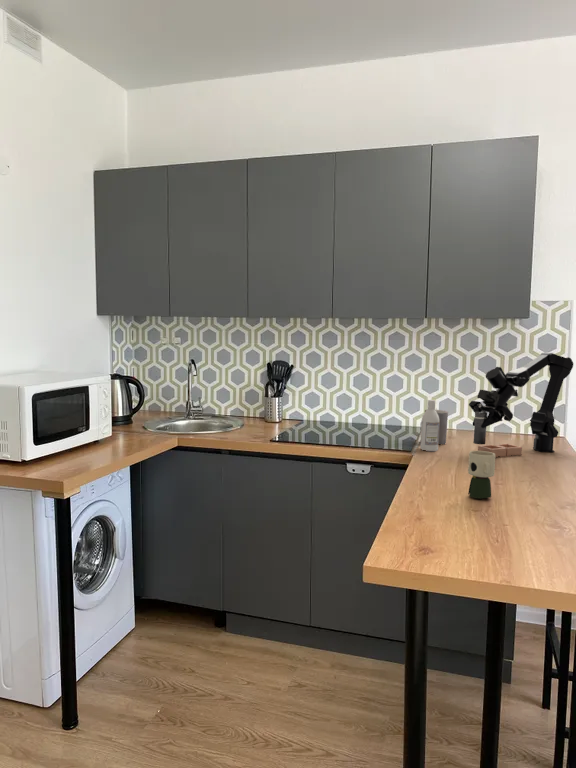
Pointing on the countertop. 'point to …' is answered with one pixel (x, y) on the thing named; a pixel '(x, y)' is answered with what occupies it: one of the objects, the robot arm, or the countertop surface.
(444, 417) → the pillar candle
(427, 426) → the bath foam
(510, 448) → the collar
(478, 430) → the tube
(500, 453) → the collar
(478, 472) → the character mug
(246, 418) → the countertop surface
